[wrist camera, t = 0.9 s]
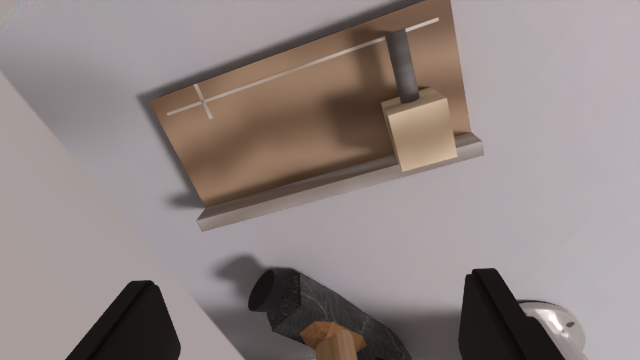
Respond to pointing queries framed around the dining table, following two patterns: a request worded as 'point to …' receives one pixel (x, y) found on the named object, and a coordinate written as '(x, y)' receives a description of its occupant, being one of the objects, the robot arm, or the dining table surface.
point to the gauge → (415, 113)
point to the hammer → (323, 320)
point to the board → (311, 117)
